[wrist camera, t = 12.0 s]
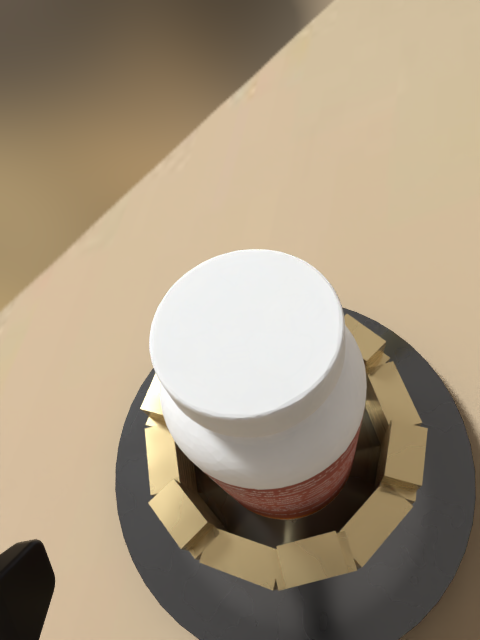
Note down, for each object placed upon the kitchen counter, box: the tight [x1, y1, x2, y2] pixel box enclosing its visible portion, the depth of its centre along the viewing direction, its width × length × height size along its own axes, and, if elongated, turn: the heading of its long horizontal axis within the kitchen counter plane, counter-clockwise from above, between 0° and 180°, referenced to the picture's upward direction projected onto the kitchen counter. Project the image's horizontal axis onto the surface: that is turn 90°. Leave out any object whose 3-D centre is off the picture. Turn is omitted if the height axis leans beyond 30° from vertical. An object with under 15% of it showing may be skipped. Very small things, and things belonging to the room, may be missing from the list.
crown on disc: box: [115, 308, 476, 640], centre depth 18 cm, size 16×16×5 cm
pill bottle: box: [149, 249, 367, 520], centre depth 14 cm, size 6×6×11 cm
